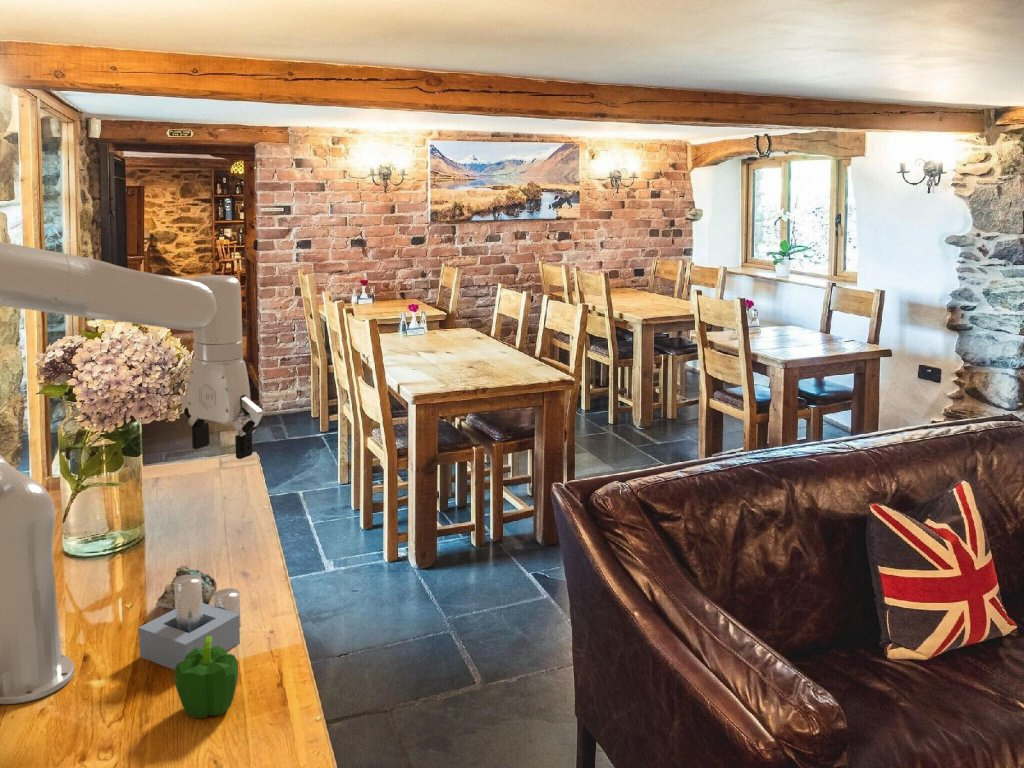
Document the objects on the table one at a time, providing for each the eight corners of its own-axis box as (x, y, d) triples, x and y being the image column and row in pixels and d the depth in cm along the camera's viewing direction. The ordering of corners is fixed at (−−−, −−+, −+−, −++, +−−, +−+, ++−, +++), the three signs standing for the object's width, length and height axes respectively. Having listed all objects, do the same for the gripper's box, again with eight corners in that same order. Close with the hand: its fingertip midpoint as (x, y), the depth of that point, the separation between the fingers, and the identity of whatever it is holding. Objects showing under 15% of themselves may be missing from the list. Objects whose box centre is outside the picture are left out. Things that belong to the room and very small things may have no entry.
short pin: (228, 635, 144) (227, 601, 143) (210, 628, 146) (208, 595, 145) (245, 624, 148) (244, 592, 146) (227, 619, 149) (226, 586, 148)
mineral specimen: (208, 618, 148) (213, 570, 149) (150, 615, 146) (157, 567, 147) (218, 610, 160) (223, 565, 161) (165, 607, 158) (171, 562, 159)
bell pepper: (222, 730, 119) (219, 663, 117) (166, 721, 121) (162, 655, 118) (250, 696, 127) (248, 633, 125) (197, 688, 129) (195, 626, 127)
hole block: (186, 674, 132) (185, 644, 131) (140, 657, 137) (138, 627, 135) (239, 643, 142) (239, 614, 141) (194, 627, 146) (193, 599, 145)
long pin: (190, 659, 137) (187, 587, 134) (171, 652, 138) (168, 581, 136) (209, 647, 140) (207, 578, 137) (191, 641, 142) (188, 572, 139)
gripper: (162, 348, 144) (167, 449, 148) (242, 361, 136) (245, 466, 140) (197, 342, 150) (201, 438, 154) (275, 354, 143) (277, 455, 147)
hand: (222, 451), depth 147 cm, fingers open, 9 cm apart
